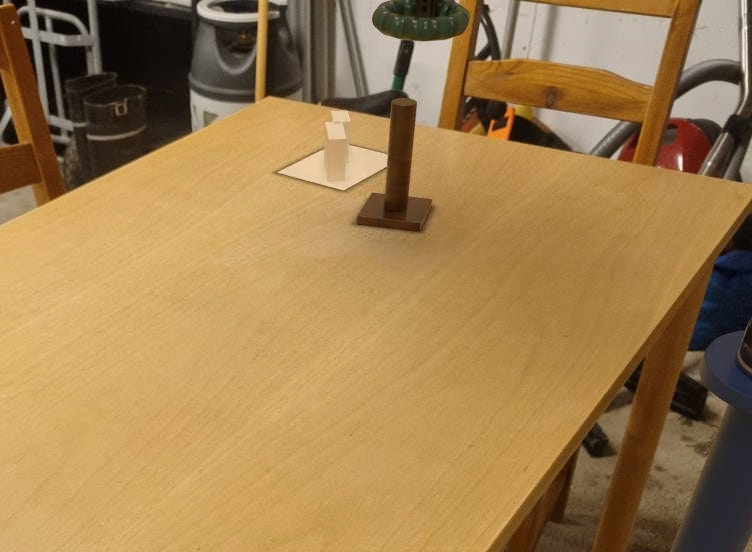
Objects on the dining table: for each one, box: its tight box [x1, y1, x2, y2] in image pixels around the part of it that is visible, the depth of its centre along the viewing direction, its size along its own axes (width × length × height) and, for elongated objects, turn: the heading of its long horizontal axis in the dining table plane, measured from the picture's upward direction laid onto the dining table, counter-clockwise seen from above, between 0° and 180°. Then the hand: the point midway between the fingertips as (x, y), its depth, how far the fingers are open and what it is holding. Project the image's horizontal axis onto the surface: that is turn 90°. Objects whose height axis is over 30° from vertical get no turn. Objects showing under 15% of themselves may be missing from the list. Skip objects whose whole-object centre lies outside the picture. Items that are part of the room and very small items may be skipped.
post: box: [356, 97, 433, 232], centre depth 113 cm, size 8×8×13 cm
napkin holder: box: [277, 110, 388, 192], centre depth 128 cm, size 15×11×6 cm
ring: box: [371, 0, 471, 42], centre depth 97 cm, size 10×10×2 cm
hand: (426, 18), depth 101 cm, fingers closed on ring, 2 cm apart
